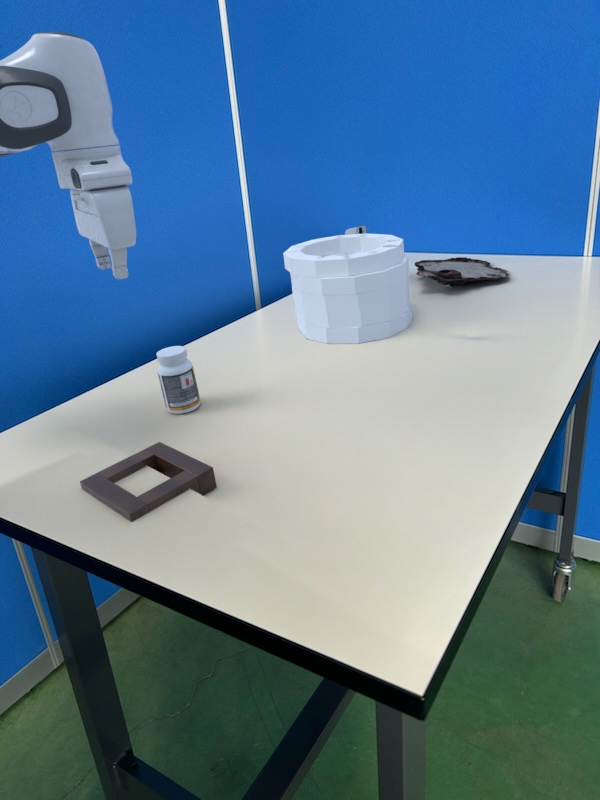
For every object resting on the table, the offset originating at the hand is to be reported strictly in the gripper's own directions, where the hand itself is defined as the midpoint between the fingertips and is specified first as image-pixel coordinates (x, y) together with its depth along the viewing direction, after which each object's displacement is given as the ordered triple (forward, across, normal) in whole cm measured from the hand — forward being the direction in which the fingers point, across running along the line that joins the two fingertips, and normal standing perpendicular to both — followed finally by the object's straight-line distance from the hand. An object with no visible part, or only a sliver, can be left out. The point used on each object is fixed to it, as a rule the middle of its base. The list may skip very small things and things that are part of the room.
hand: (112, 273), depth 90 cm
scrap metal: (+21, -21, +87) cm, 92 cm away
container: (+22, -14, +49) cm, 56 cm away
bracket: (+22, -35, +67) cm, 79 cm away
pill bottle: (+24, 0, +7) cm, 25 cm away
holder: (+24, +22, -6) cm, 33 cm away
